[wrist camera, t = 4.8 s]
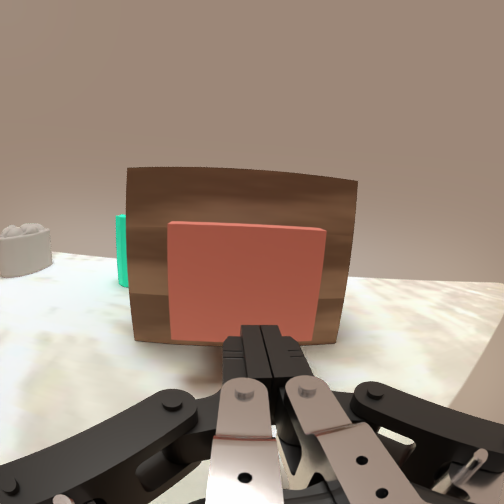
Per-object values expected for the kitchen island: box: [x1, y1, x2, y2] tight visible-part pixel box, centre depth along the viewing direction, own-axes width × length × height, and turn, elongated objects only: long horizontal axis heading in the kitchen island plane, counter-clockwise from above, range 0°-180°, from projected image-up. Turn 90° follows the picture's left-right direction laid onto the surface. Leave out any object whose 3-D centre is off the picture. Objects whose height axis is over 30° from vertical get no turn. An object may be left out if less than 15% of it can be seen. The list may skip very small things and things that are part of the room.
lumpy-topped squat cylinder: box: [0, 223, 52, 278], centre depth 38 cm, size 10×13×9 cm
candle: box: [116, 214, 129, 287], centre depth 39 cm, size 6×6×12 cm
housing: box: [126, 167, 358, 346], centre depth 29 cm, size 12×20×16 cm, turn 96°
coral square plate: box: [167, 221, 327, 342], centre depth 22 cm, size 10×10×8 cm
